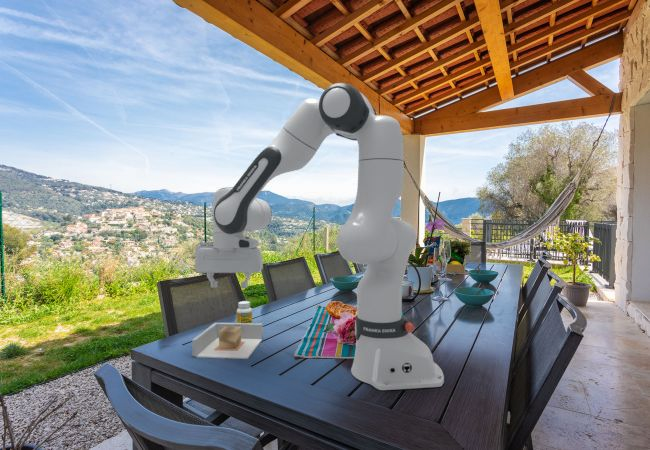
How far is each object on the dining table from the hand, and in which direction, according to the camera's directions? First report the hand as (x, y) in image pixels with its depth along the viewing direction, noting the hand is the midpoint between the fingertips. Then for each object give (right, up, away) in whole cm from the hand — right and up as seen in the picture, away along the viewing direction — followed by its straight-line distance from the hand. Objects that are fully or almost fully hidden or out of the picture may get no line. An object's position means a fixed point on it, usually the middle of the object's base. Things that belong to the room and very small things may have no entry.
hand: (229, 287), depth 106 cm
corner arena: (0, -18, 0) cm, 18 cm away
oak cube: (0, -18, 0) cm, 18 cm away
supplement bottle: (+1, -18, +17) cm, 25 cm away
